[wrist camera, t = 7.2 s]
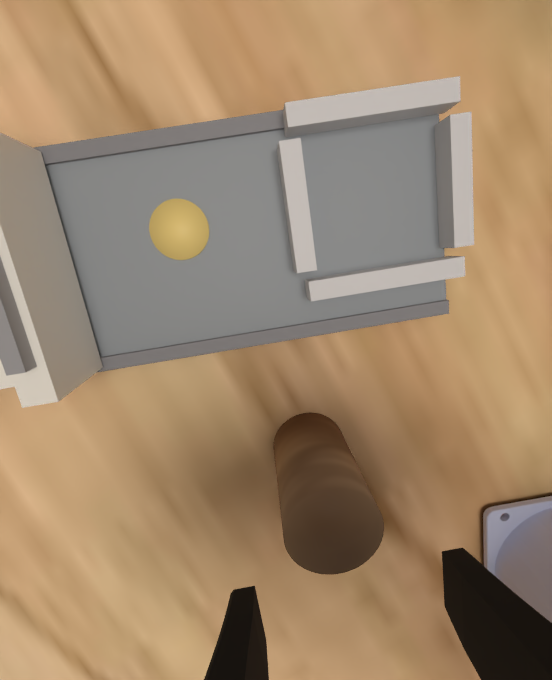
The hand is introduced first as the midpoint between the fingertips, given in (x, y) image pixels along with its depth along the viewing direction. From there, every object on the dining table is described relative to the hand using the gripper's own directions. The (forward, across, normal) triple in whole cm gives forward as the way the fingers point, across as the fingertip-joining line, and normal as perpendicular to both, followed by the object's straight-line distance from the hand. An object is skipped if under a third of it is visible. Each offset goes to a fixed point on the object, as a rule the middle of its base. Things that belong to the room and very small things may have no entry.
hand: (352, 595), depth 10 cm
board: (+8, +6, -11) cm, 15 cm away
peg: (+8, 0, 0) cm, 8 cm away
